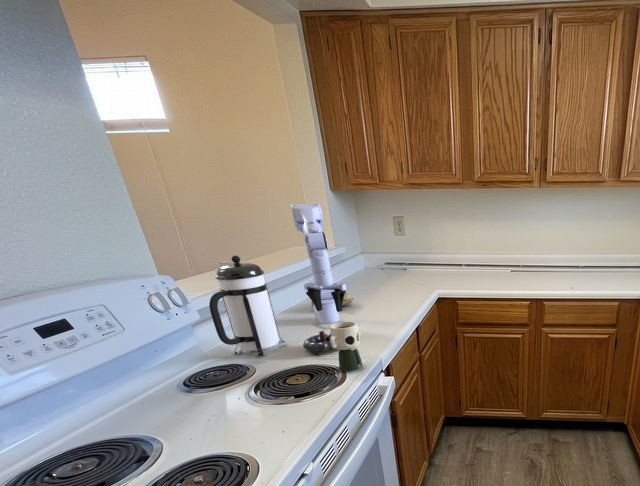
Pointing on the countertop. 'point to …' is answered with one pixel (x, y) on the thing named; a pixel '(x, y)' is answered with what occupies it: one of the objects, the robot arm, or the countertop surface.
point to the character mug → (346, 344)
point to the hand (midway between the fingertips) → (329, 310)
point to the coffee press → (245, 307)
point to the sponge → (344, 300)
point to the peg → (323, 339)
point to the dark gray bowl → (318, 343)
